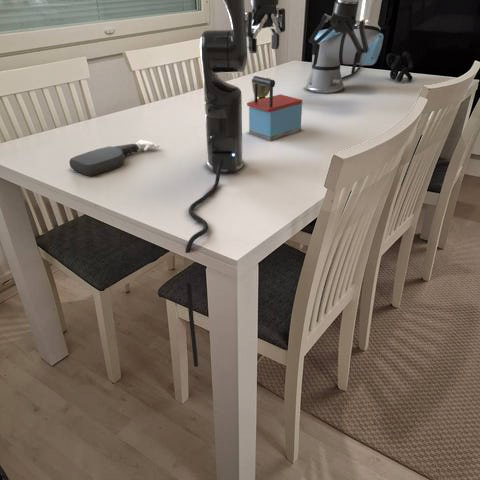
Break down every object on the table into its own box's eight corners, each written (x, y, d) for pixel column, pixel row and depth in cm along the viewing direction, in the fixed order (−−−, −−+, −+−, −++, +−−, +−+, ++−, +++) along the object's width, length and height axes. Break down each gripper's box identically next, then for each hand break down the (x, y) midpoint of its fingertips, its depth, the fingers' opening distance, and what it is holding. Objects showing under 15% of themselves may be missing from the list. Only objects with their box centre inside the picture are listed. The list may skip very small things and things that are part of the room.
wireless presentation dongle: (67, 168, 120) (139, 144, 136) (91, 178, 114) (163, 151, 130) (65, 157, 118) (137, 134, 134) (89, 167, 112) (162, 142, 128)
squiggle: (400, 92, 202) (376, 71, 205) (417, 76, 202) (392, 56, 205) (405, 81, 191) (380, 59, 194) (423, 64, 191) (397, 42, 194)
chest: (270, 140, 136) (270, 111, 131) (249, 133, 142) (248, 105, 138) (300, 130, 144) (302, 103, 139) (279, 123, 150) (280, 97, 145)
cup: (248, 101, 174) (248, 80, 169) (256, 97, 179) (256, 76, 175) (265, 103, 171) (266, 82, 166) (273, 99, 176) (274, 78, 172)
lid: (268, 112, 131) (269, 81, 126) (246, 105, 137) (246, 76, 133) (302, 102, 139) (303, 74, 134) (280, 97, 145) (281, 69, 141)
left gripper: (273, -16, 125) (272, 46, 133) (235, -14, 117) (236, 52, 125) (293, -16, 120) (290, 49, 128) (254, -13, 112) (254, 55, 121)
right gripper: (306, -3, 142) (296, 64, 156) (384, 9, 136) (367, 78, 150) (312, -7, 148) (302, 58, 161) (388, 4, 142) (370, 72, 155)
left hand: (264, 50), depth 127 cm, fingers open, 8 cm apart
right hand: (333, 68), depth 156 cm, fingers open, 13 cm apart
